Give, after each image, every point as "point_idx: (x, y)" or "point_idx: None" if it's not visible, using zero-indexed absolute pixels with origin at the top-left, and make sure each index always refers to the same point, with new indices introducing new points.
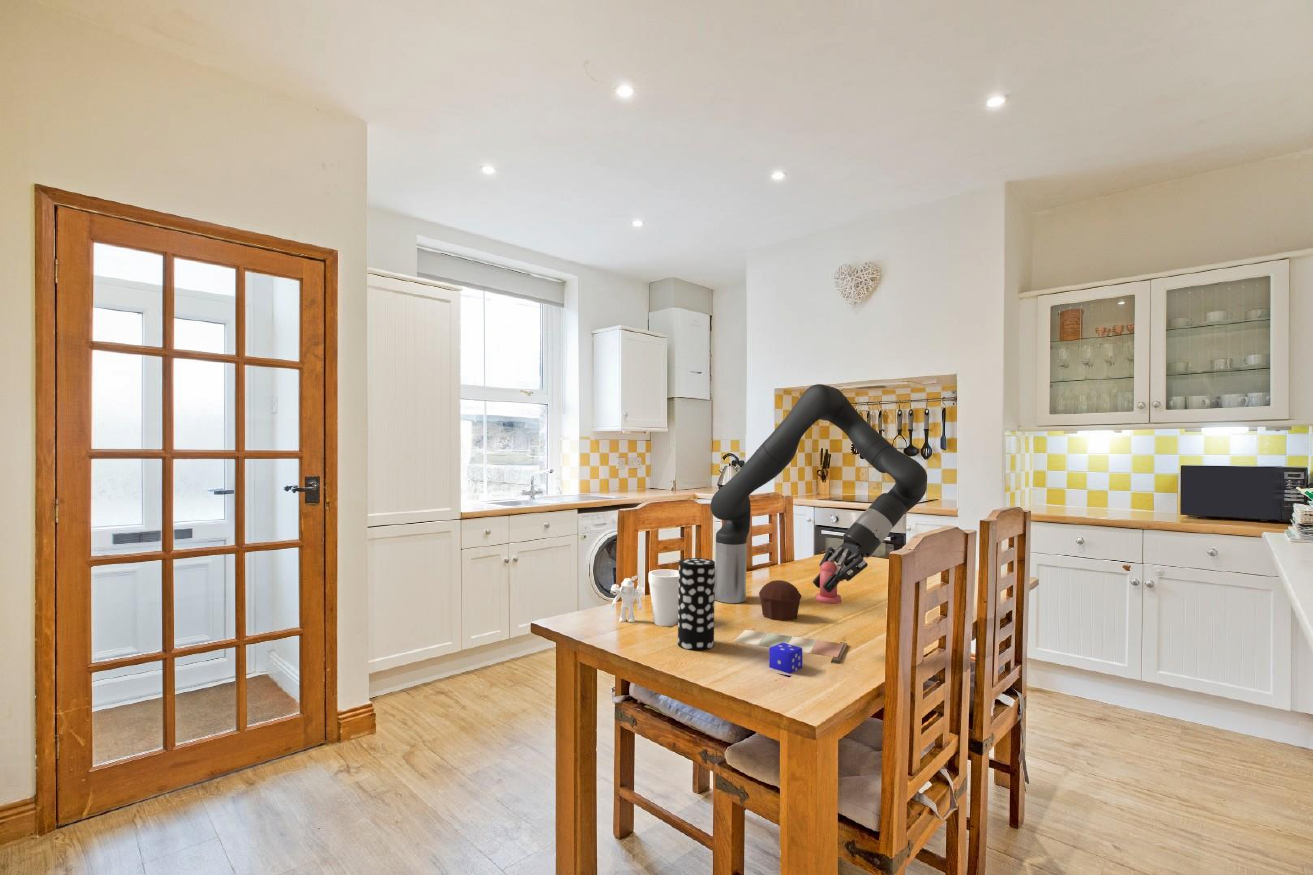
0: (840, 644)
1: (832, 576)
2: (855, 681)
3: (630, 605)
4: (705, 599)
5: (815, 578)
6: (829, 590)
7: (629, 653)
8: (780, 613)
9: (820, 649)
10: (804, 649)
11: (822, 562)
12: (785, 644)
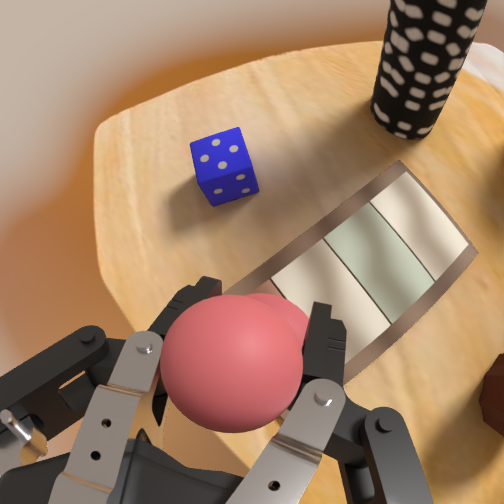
0: None
1: (168, 323)
2: (128, 264)
3: None
4: (387, 29)
5: (326, 318)
6: None
7: None
8: (500, 370)
9: None
10: (297, 283)
11: (387, 438)
12: (236, 163)
